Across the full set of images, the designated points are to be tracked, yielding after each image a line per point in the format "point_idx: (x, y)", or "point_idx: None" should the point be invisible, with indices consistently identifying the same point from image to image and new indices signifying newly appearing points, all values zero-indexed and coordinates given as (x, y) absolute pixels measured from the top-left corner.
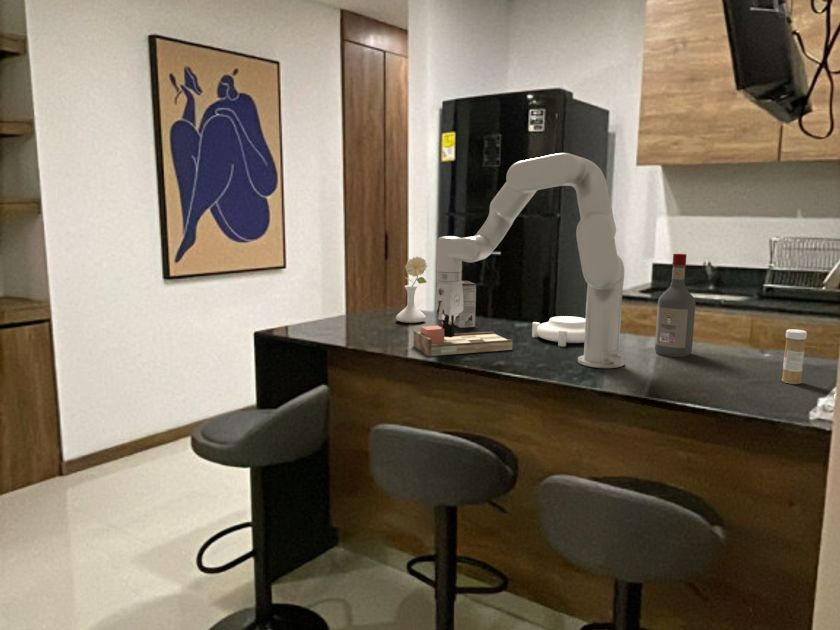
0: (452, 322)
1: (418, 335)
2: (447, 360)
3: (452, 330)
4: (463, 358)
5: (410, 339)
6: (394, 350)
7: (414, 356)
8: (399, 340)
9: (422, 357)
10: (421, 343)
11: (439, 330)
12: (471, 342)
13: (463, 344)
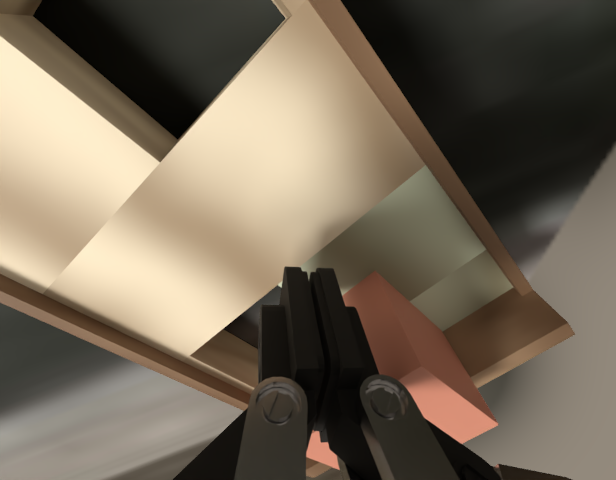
0: (301, 402)
1: None
2: (610, 117)
3: (333, 309)
4: (550, 19)
5: (173, 447)
6: None
7: None
8: None
9: (529, 270)
10: None
11: (442, 373)
12: (343, 31)
13: (406, 104)
